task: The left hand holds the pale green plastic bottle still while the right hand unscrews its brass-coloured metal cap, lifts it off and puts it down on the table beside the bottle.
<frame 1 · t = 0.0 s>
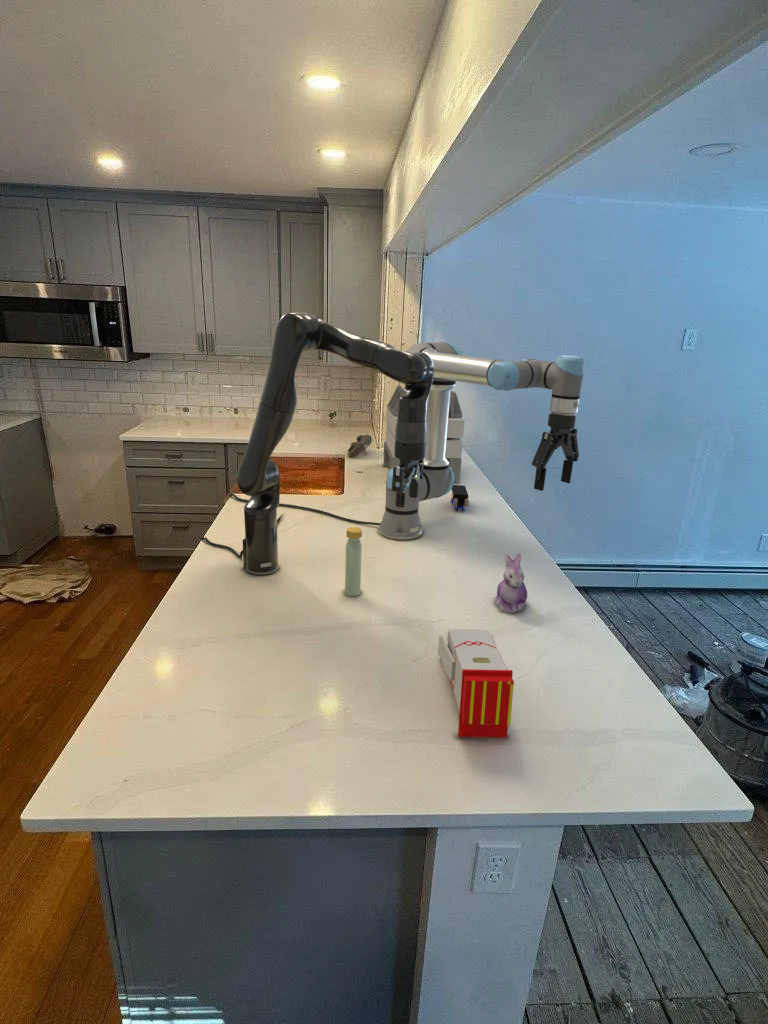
left hand: (406, 502, 142), 29 cm above the counter, tool pointing down, fingers open, 8 cm apart
right hand: (552, 485, 166), 28 cm above the counter, tool pointing down, fingers open, 13 cm apart
fossil: (359, 453, 306), on the counter
figurine character: (458, 507, 230), on the counter
transformer: (419, 473, 275), on the counter
feather: (281, 517, 210), on the counter
toy: (469, 691, 119), on the counter
cap: (354, 530, 151), point 19 cm above the counter, screwed on, not yet turned
figurine: (510, 605, 154), on the counter
bottle: (352, 592, 158), on the counter
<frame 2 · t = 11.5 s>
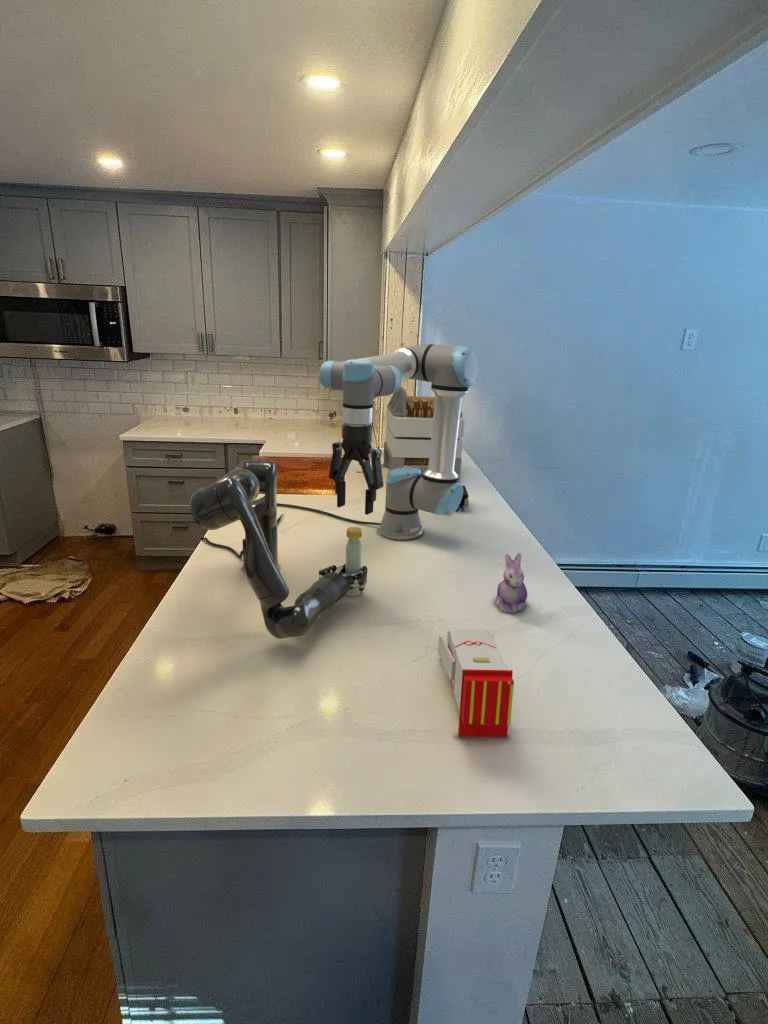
left hand: (357, 567, 158), 7 cm above the counter, tool horizontal, fingers closed on bottle, 4 cm apart
right hand: (354, 509, 149), 25 cm above the counter, tool pointing down, fingers open, 8 cm apart
bottle: (352, 592, 158), on the counter, touching left hand
everything else where it was.
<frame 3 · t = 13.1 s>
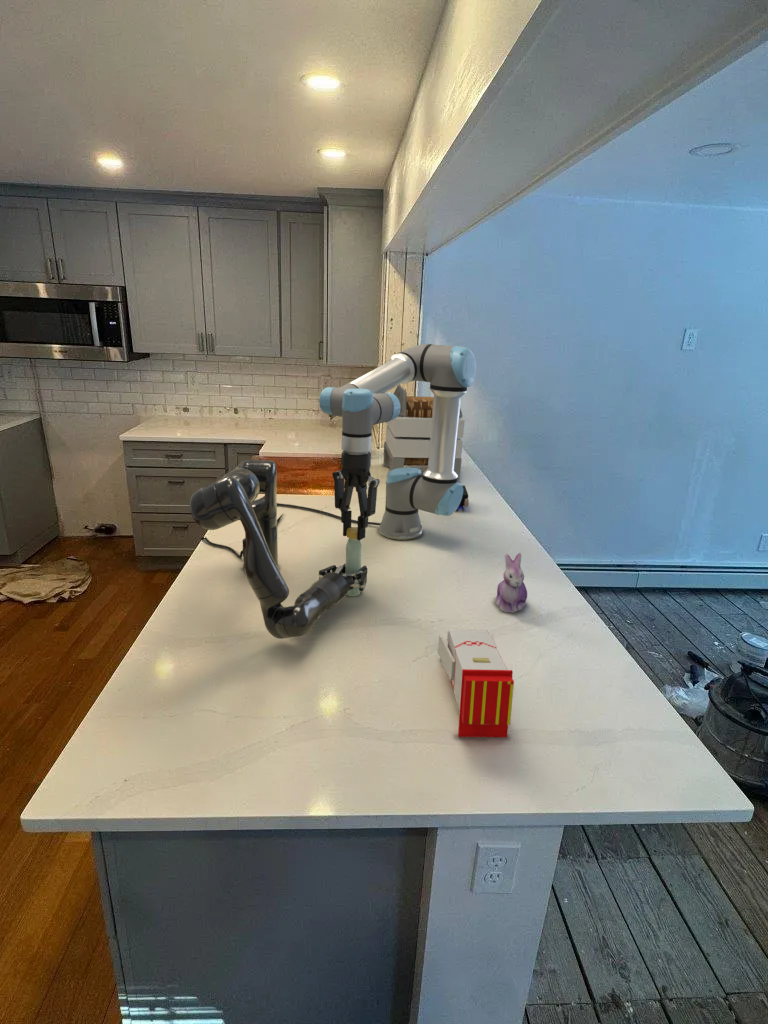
left hand: (357, 567, 158), 7 cm above the counter, tool horizontal, fingers closed on bottle, 4 cm apart
right hand: (354, 536, 152), 17 cm above the counter, tool pointing down, fingers closed on cap, 4 cm apart
cap: (354, 530, 151), point 19 cm above the counter, screwed on, not yet turned, touching right hand
bottle: (352, 592, 158), on the counter, touching left hand
everything else where it was.
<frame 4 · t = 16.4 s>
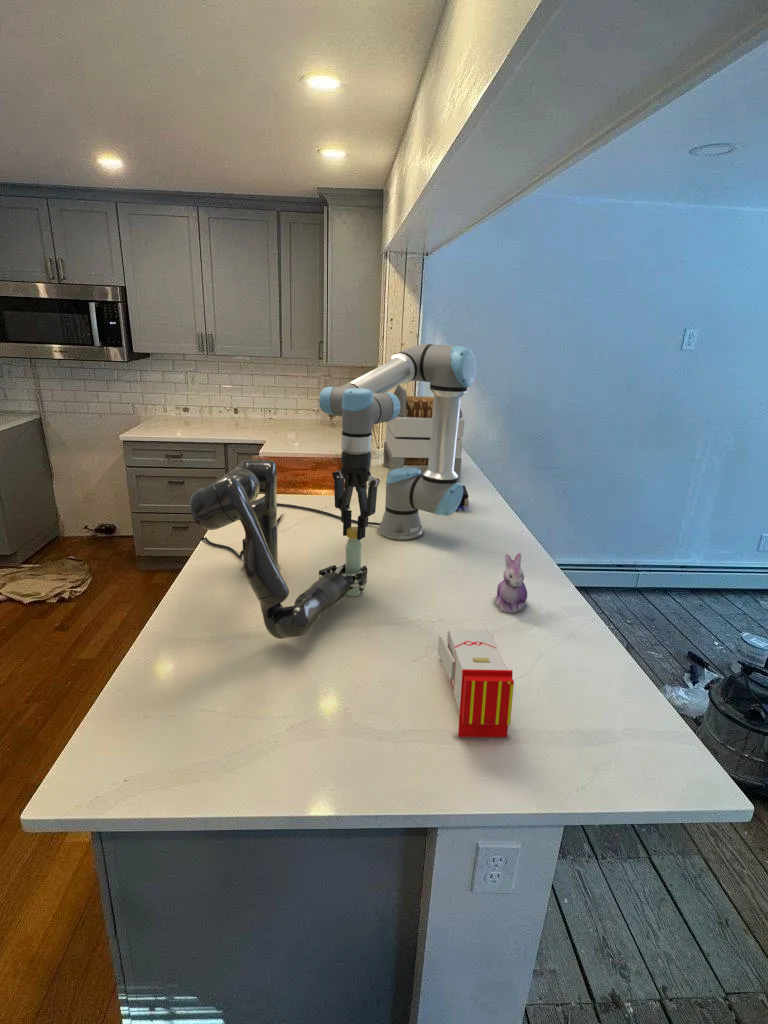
left hand: (357, 567, 158), 7 cm above the counter, tool horizontal, fingers closed on bottle, 4 cm apart
right hand: (354, 536, 152), 17 cm above the counter, tool pointing down, fingers closed on cap, 4 cm apart
cap: (354, 530, 151), point 19 cm above the counter, turned 106° so far, risen 0.1 cm, still on its thread, touching right hand
bottle: (352, 592, 157), on the counter, touching left hand
everything else where it was.
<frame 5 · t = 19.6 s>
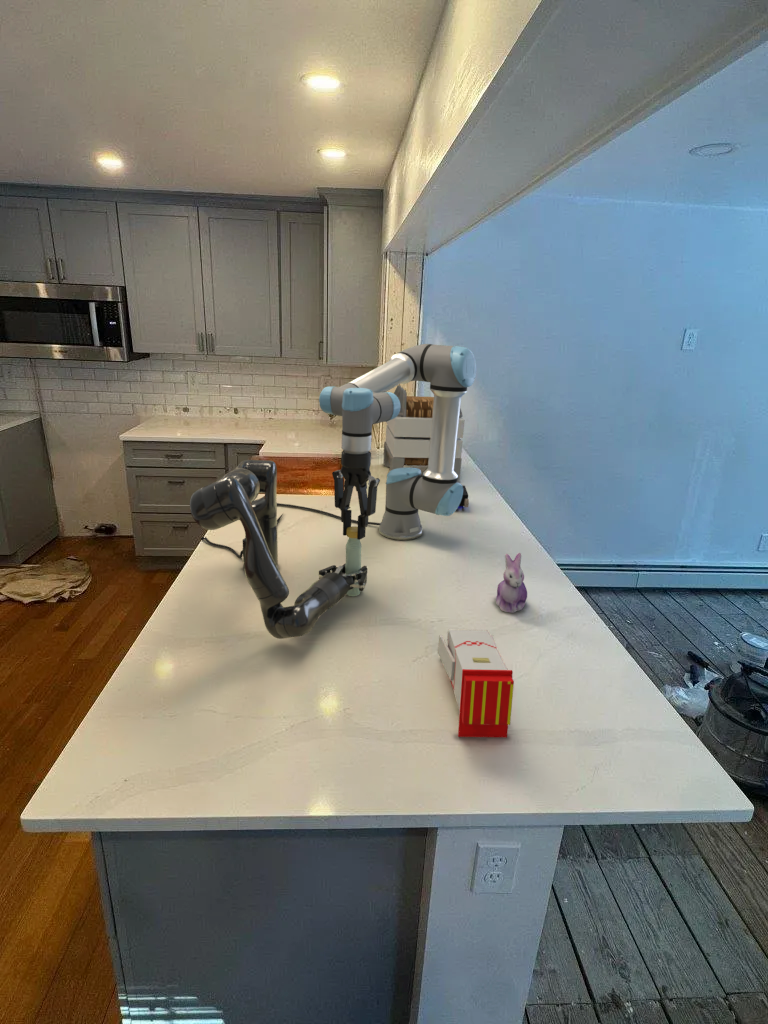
left hand: (357, 567, 158), 7 cm above the counter, tool horizontal, fingers closed on bottle, 4 cm apart
right hand: (354, 535, 152), 17 cm above the counter, tool pointing down, fingers closed on cap, 4 cm apart
cap: (354, 530, 151), point 19 cm above the counter, turned 212° so far, risen 0.2 cm, still on its thread, touching right hand
bottle: (352, 592, 157), on the counter, touching left hand
everything else where it was.
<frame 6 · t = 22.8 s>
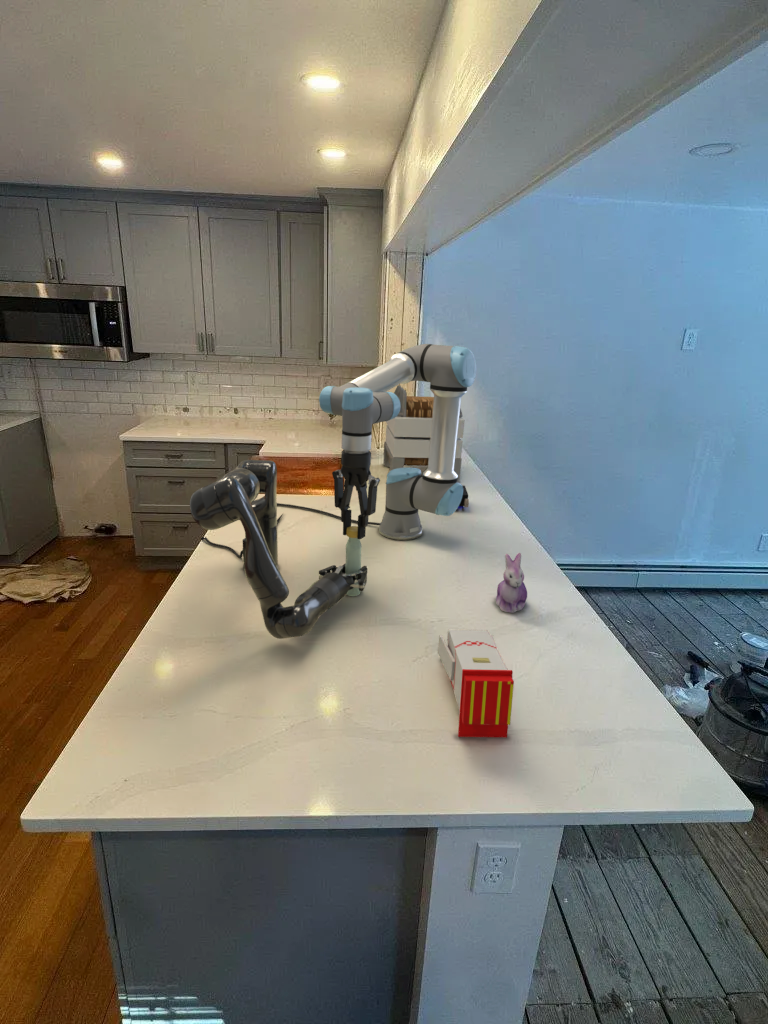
left hand: (357, 567, 158), 7 cm above the counter, tool horizontal, fingers closed on bottle, 4 cm apart
right hand: (354, 535, 152), 17 cm above the counter, tool pointing down, fingers closed on cap, 4 cm apart
cap: (354, 529, 151), point 19 cm above the counter, turned 319° so far, risen 0.3 cm, still on its thread, touching right hand
bottle: (352, 592, 157), on the counter, touching left hand
everything else where it was.
when the right hand's fingers open (1 cm above the counter, at t = 29.4 s): cap drops 1 cm, point 2 cm above the counter.
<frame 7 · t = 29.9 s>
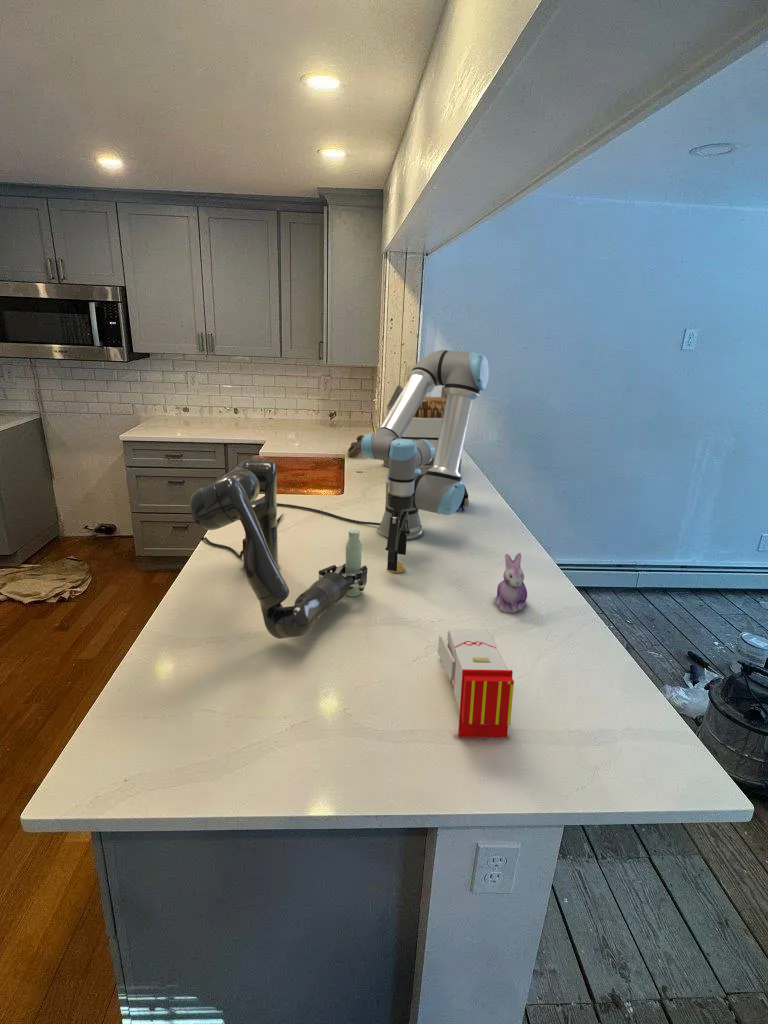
left hand: (357, 567, 158), 7 cm above the counter, tool horizontal, fingers closed on bottle, 4 cm apart
right hand: (396, 561, 171), 3 cm above the counter, tool pointing down, fingers open, 11 cm apart
cap: (396, 565, 172), point 2 cm above the counter, off its thread
bottle: (352, 592, 157), on the counter, touching left hand
everything else where it was.
when the left hand's fingers open (7 cm above the counter, at t = 30.7 s): bottle stays where it is, on the counter.
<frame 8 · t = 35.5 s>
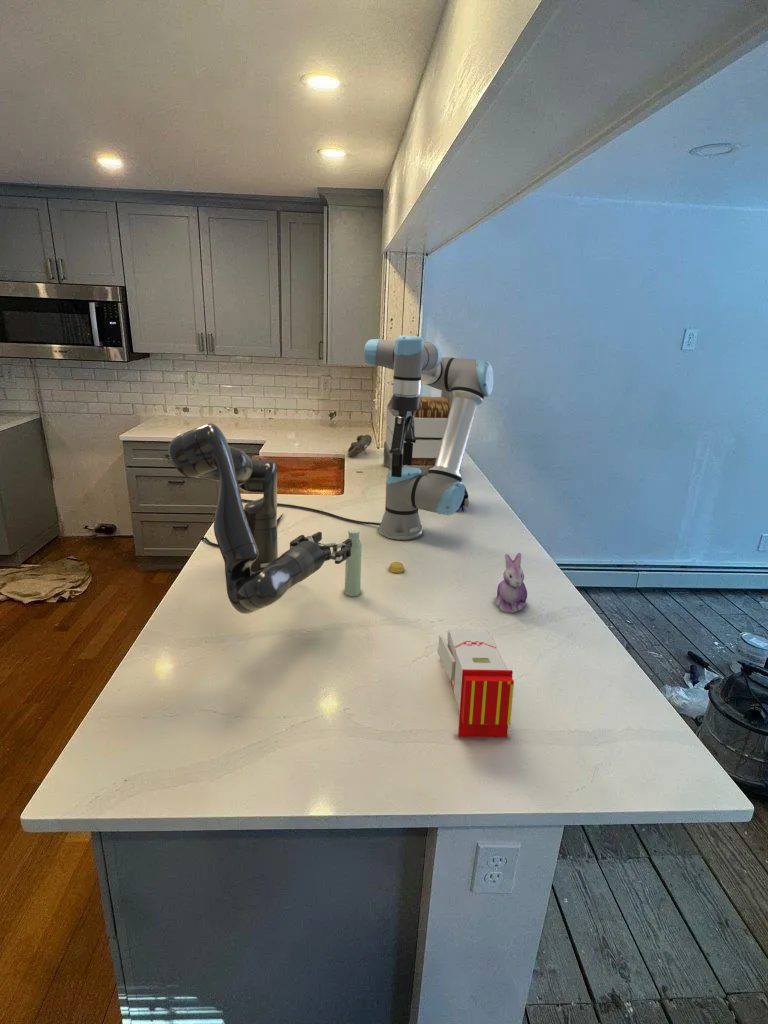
left hand: (335, 538, 142), 20 cm above the counter, tool horizontal, fingers open, 8 cm apart
right hand: (401, 470, 161), 31 cm above the counter, tool pointing down, fingers open, 13 cm apart
bottle: (352, 592, 157), on the counter
everything else where it was.
at the end: cap came off its thread; cap point 1.6 cm above the counter; the left hand is holding nothing; the right hand is holding nothing; bottle tilted 0°; bottle moved 0.0 cm from its start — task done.
